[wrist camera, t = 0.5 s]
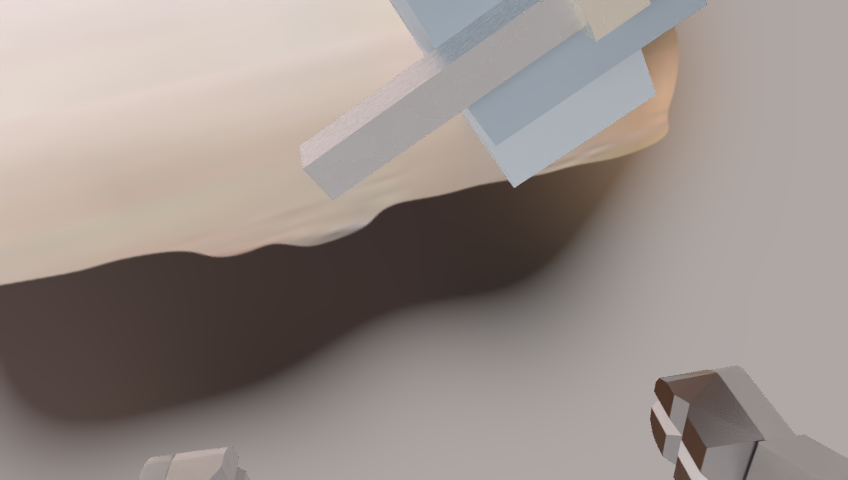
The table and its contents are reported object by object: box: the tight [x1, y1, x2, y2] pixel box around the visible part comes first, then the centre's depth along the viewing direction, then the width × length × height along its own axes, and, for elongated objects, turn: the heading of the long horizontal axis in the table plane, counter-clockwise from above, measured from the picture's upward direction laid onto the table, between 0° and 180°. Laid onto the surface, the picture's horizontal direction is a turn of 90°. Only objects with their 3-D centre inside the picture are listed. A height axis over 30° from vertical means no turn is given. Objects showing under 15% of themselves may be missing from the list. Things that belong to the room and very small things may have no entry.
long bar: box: [299, 0, 651, 200], centre depth 28 cm, size 20×4×4 cm, turn 121°
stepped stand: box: [390, 0, 707, 188], centre depth 43 cm, size 14×24×26 cm, turn 31°
